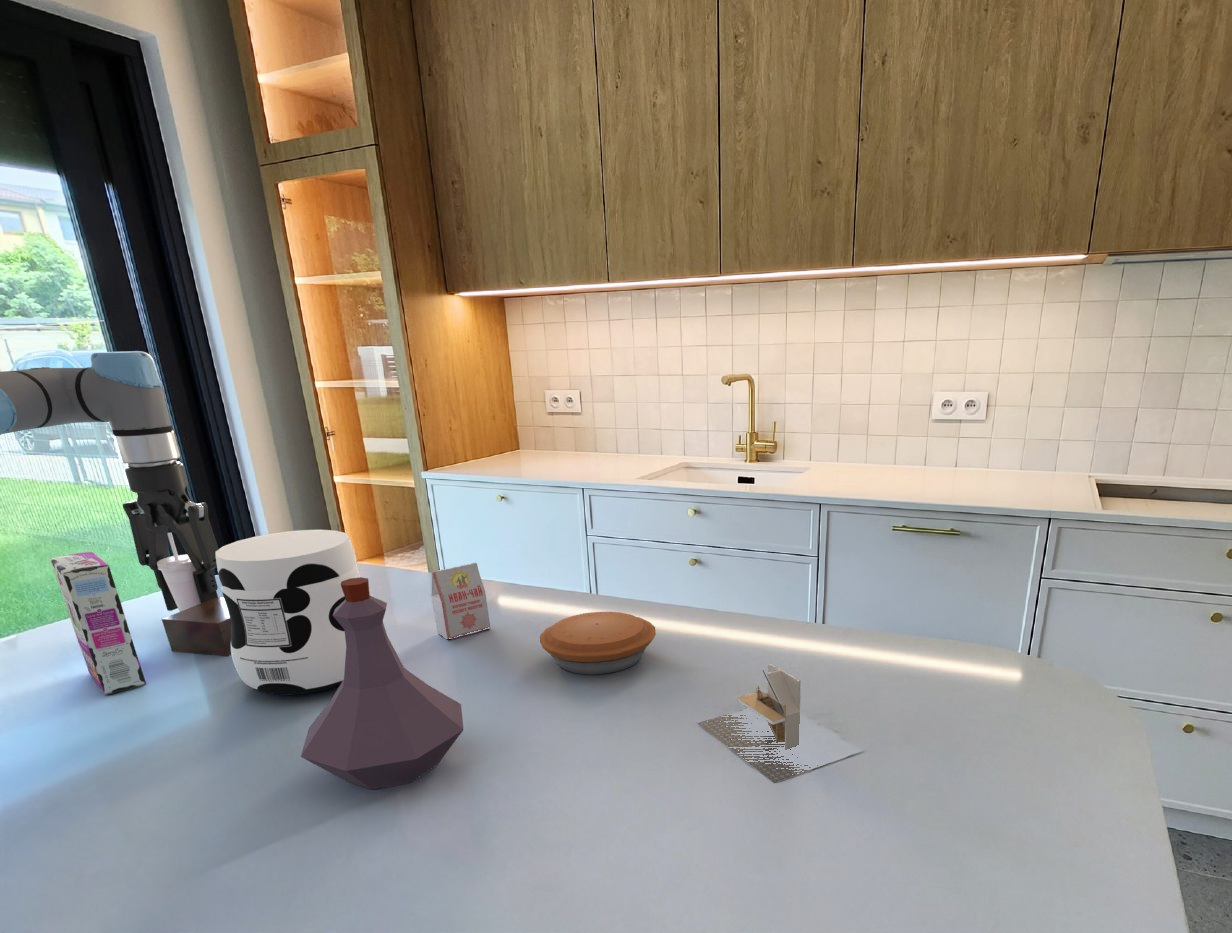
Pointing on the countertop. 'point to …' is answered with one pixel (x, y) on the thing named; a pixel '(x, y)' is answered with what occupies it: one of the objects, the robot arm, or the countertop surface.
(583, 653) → the pie
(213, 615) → the walnut block
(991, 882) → the countertop surface
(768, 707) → the architectural model
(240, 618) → the milk container
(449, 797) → the countertop surface
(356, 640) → the flask
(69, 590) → the candy bar box
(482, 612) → the tea bag
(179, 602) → the smoothie
